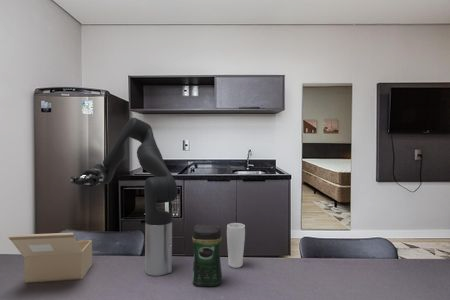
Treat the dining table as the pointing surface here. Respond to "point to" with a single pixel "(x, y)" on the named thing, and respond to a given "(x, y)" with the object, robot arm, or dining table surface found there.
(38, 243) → the lid
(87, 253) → the mailer box
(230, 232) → the drinking glass
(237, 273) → the dining table surface
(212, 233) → the coffee jar
